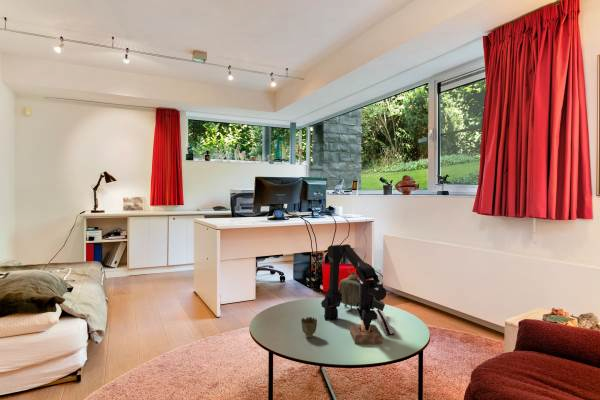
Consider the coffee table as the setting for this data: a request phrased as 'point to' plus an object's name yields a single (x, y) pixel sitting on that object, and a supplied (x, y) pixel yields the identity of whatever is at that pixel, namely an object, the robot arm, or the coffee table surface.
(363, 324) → the peg
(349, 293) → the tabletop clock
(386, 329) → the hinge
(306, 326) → the cup
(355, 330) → the hole block
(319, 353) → the coffee table surface
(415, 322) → the coffee table surface
